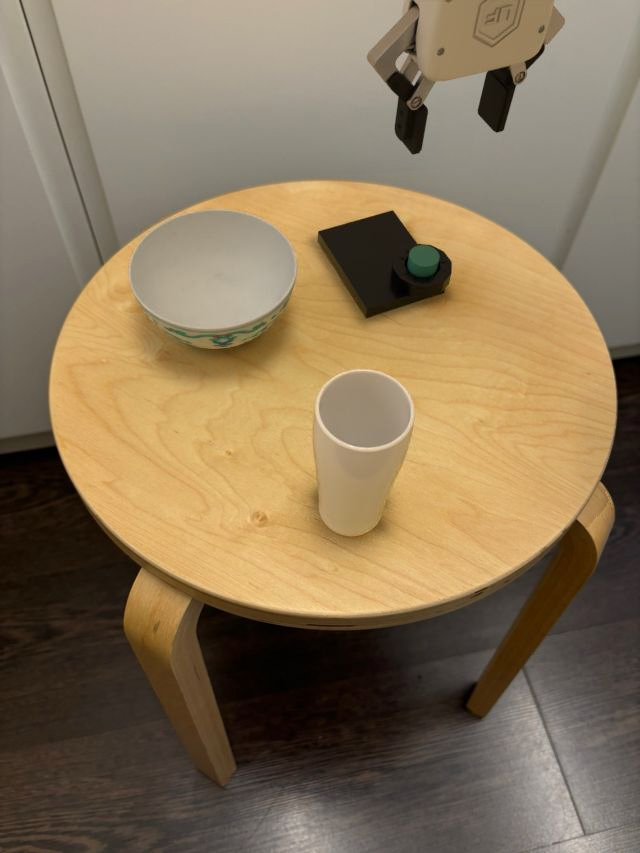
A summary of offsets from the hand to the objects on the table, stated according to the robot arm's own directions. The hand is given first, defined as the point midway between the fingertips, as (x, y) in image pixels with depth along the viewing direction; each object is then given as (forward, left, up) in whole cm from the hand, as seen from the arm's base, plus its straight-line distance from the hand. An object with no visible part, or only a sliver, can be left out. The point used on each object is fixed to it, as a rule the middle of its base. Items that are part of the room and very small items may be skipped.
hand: (449, 132), depth 58 cm
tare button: (0, 0, -15) cm, 15 cm away
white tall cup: (+17, +21, -18) cm, 32 cm away
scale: (+2, -4, -18) cm, 18 cm away
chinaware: (+20, -3, -18) cm, 27 cm away
